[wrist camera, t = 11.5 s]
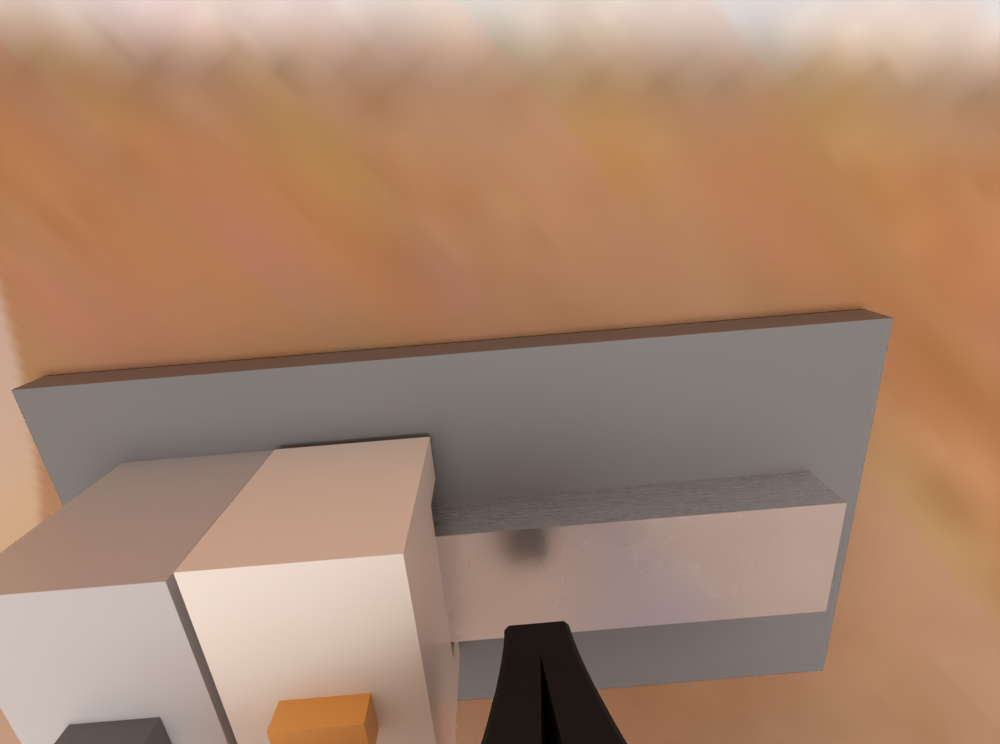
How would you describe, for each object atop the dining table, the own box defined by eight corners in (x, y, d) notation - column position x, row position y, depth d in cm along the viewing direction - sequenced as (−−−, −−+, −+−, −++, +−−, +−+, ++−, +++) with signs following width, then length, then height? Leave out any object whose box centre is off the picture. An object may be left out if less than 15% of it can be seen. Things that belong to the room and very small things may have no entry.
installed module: (328, 660, 16) (255, 879, 11) (202, 670, 16) (69, 894, 11) (273, 450, 13) (142, 608, 8) (122, 462, 13) (-102, 629, 8)
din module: (459, 653, 15) (449, 858, 11) (330, 664, 15) (262, 874, 11) (429, 436, 13) (397, 579, 8) (274, 449, 13) (151, 599, 8)
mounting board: (804, 644, 17) (822, 670, 16) (178, 696, 17) (160, 725, 16) (864, 308, 13) (892, 317, 12) (45, 376, 13) (11, 390, 12)
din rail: (794, 571, 15) (826, 611, 14) (166, 623, 15) (133, 668, 14) (809, 471, 14) (846, 502, 12) (128, 527, 14) (87, 565, 12)
